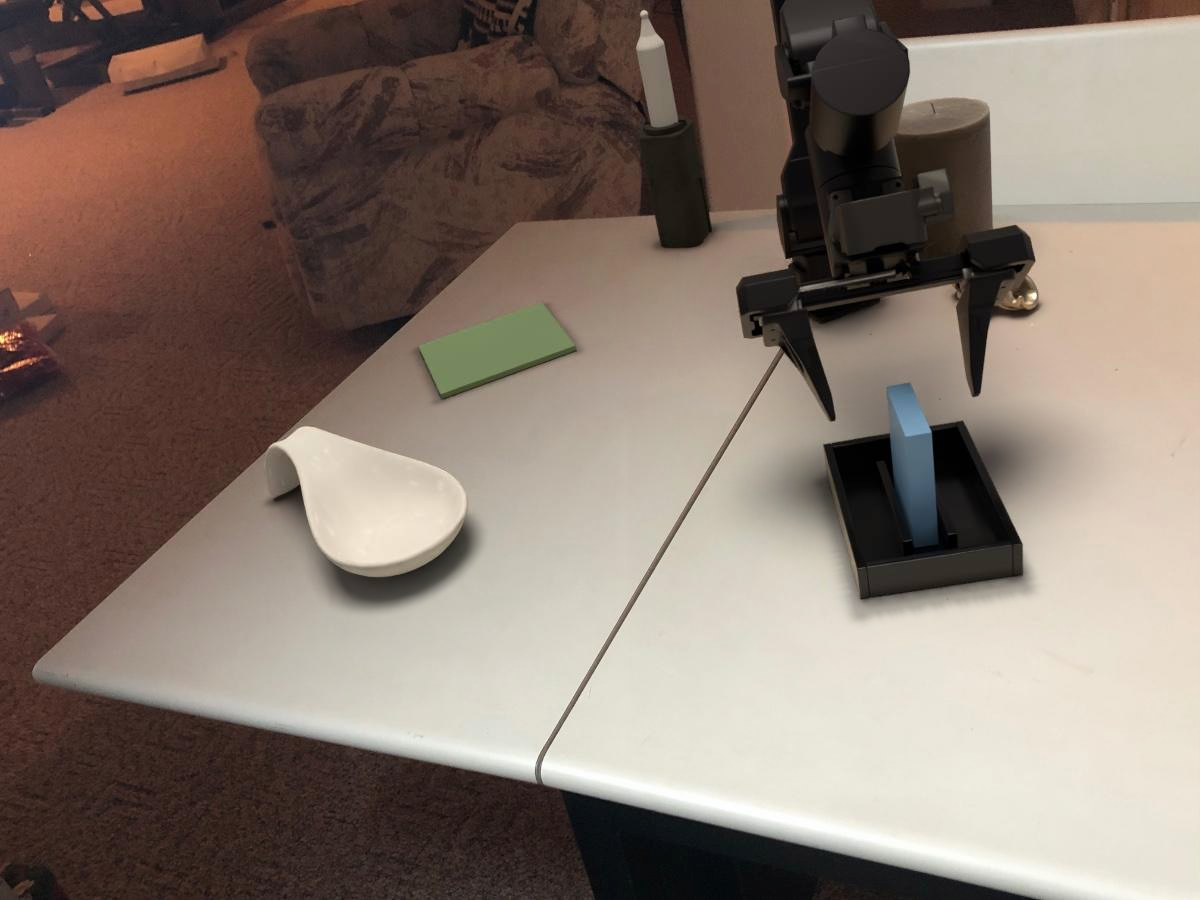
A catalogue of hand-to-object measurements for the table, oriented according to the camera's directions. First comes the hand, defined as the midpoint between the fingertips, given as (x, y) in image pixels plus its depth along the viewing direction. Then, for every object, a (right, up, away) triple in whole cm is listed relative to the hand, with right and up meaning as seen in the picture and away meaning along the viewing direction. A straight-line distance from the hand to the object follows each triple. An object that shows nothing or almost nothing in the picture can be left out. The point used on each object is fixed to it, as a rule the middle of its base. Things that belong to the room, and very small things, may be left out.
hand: (903, 408), depth 70 cm
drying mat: (-30, +7, +40) cm, 51 cm away
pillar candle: (+14, +17, +37) cm, 43 cm away
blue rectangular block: (+2, -7, +3) cm, 8 cm away
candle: (-10, +21, +53) cm, 58 cm away
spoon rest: (-39, -9, +19) cm, 44 cm away
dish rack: (+2, -8, +4) cm, 9 cm away
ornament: (+15, +10, +26) cm, 32 cm away
